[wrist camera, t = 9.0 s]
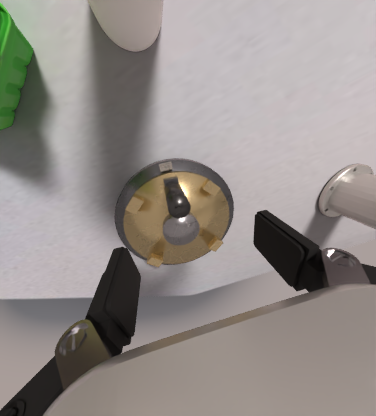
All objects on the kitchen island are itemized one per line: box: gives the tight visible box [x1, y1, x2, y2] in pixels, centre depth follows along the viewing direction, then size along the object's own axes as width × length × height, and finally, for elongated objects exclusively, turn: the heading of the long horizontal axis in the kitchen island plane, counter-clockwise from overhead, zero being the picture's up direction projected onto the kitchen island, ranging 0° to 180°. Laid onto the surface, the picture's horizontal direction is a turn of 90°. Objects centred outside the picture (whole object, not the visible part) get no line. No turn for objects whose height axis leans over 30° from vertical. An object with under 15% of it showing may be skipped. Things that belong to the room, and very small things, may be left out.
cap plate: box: [115, 158, 234, 265], centre depth 27 cm, size 21×21×3 cm
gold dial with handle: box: [124, 171, 229, 267], centre depth 22 cm, size 18×18×8 cm
